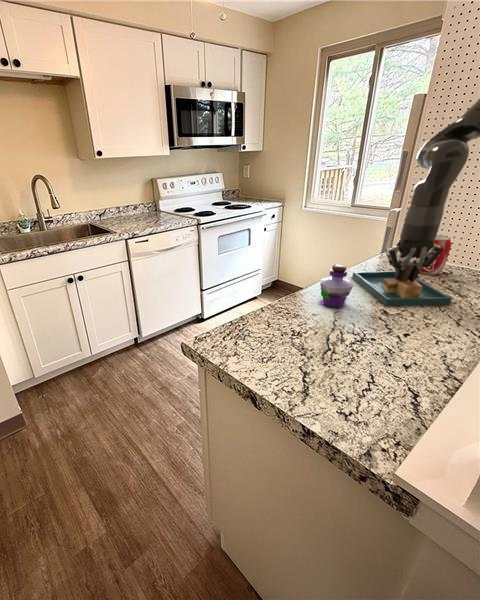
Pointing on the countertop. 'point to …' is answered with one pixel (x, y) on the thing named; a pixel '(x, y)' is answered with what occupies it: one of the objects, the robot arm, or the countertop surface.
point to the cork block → (408, 289)
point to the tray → (374, 284)
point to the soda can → (441, 259)
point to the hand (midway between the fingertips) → (404, 280)
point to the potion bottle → (335, 287)
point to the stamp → (391, 284)
